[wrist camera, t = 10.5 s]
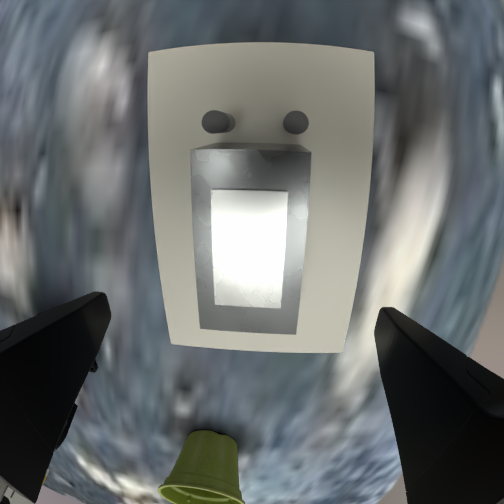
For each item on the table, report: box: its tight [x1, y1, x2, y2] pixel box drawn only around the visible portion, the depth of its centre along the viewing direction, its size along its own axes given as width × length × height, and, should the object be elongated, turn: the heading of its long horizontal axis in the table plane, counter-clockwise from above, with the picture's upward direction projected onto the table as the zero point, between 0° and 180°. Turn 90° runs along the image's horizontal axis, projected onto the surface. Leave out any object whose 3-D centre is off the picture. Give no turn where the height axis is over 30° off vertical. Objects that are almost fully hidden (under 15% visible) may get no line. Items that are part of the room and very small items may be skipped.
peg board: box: [148, 42, 375, 353], centre depth 18 cm, size 22×14×4 cm, turn 0°
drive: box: [190, 143, 312, 335], centre depth 16 cm, size 9×5×6 cm, turn 179°
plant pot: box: [158, 430, 245, 504], centre depth 28 cm, size 9×9×9 cm
